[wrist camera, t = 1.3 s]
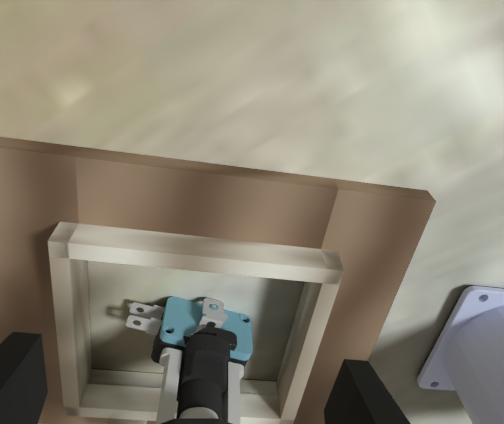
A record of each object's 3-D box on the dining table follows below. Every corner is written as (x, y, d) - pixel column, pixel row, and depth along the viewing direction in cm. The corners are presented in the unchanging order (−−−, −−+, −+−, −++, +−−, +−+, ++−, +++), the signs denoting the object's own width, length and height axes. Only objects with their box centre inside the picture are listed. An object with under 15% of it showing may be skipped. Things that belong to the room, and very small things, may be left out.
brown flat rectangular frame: (427, 190, 20) (455, 225, 18) (331, 425, 29) (340, 470, 27) (-31, 133, 18) (-75, 163, 15) (18, 407, 27) (-4, 455, 24)
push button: (121, 333, 24) (61, 543, 16) (146, 260, 22) (91, 463, 13) (234, 359, 26) (236, 565, 17) (269, 294, 23) (292, 497, 15)
